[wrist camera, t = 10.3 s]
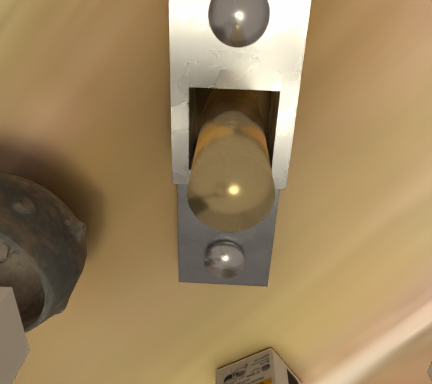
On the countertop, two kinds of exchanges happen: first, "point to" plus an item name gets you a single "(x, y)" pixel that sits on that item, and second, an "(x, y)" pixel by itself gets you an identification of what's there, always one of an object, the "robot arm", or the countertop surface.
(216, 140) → the pin
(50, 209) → the bowl
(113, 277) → the countertop surface
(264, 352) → the container
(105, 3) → the countertop surface
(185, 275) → the chain end
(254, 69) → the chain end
